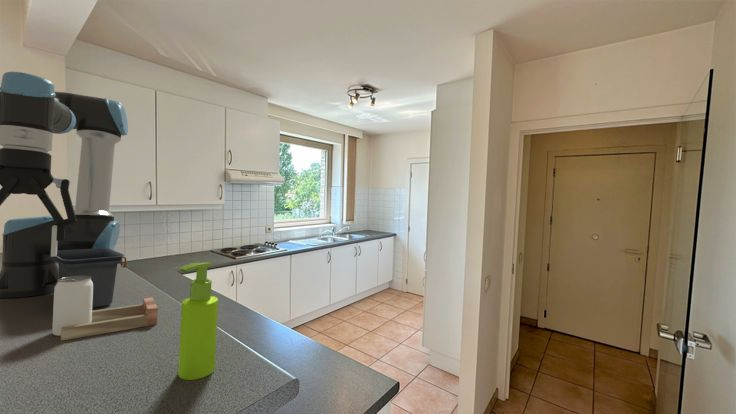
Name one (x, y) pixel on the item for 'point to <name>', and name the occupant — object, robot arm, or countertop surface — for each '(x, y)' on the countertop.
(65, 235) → the robot arm
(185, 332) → the soap dispenser
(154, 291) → the countertop surface
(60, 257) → the storage bin
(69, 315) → the can
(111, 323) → the guide lane
